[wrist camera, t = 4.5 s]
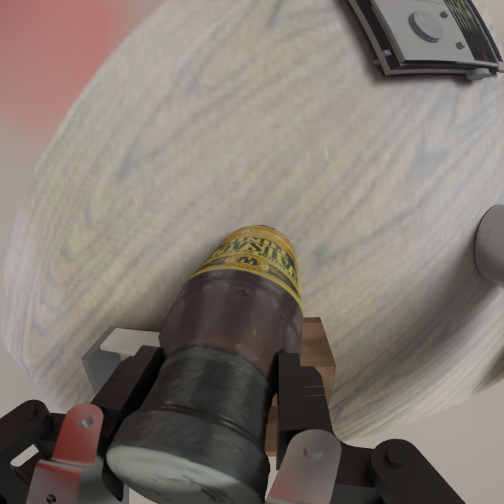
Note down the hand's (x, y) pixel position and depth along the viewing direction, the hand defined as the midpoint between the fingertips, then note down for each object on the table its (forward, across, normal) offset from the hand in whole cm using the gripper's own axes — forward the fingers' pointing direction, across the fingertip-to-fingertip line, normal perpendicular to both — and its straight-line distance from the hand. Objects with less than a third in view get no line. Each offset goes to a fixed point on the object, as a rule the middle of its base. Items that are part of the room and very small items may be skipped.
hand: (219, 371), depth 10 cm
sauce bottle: (+15, -1, 0) cm, 15 cm away
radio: (+17, -19, -31) cm, 40 cm away
